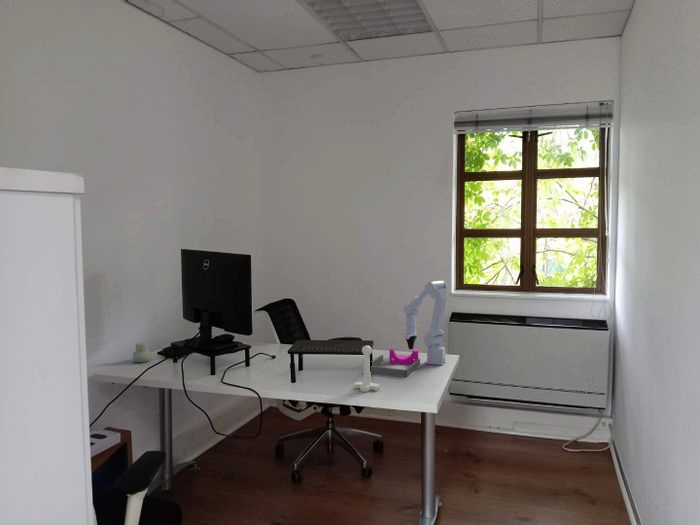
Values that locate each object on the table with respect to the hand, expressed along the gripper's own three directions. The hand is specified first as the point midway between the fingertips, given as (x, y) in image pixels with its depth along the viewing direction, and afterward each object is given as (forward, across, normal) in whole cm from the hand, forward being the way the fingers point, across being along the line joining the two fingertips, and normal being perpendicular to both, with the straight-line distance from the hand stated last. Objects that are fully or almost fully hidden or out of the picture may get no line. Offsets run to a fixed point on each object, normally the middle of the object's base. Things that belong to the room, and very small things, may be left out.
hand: (410, 349), depth 301 cm
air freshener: (+4, +68, -133) cm, 149 cm away
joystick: (+3, +65, 0) cm, 65 cm away
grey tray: (+3, +29, 0) cm, 29 cm away
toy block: (+4, +16, +2) cm, 17 cm away
